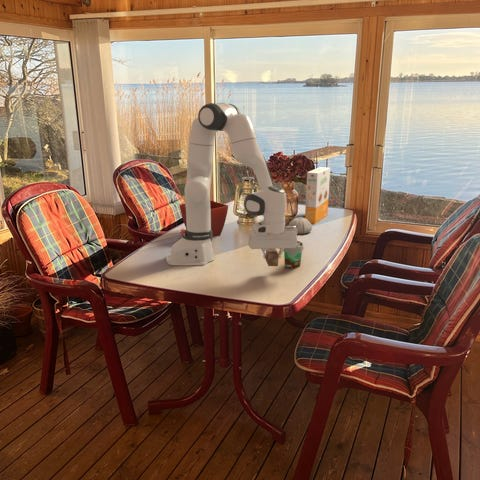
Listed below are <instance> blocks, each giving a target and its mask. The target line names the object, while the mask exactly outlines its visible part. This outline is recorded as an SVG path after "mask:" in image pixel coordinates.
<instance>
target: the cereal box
mask: <svg viewBox="0 0 480 480" xmlns="http://www.w3.org/2000/svg"><path fill="white" fill-rule="evenodd" d="M330 181H331V167H324V166H320V167H317V168H315V169H312V170H309V171H307V172H306V191H305V193H306V194H305V210H304V211H305V213H304V214H305V215H304V218H305V219H307V220H308V221H309V222H310V223H311V225H315V224H318V223H319V222H320V221H322V220H323V219H325V218H326V217H327V216H328V215H329V214H328V213H329V212H328V211H329V196H330V195H329V194H330Z"/></svg>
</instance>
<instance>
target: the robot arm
mask: <svg viewBox="0 0 480 480" xmlns="http://www.w3.org/2000/svg"><path fill="white" fill-rule="evenodd" d="M218 131H221V132H222V131H224V132H225V133H226V134H227V137H228V139H229V145H230V149H231V153H232V155H233V157H234V159H235V160H236V161H237V162H238V163H240V164H242V165H244V166H247V167H249V168H250V169H251V170H252V171H253V172H254V175H255V177H256V181H257V183H258V186H259V190H258V191H255V192H251V193H248V194H247V195H246V196H244V197H245V198H244V200H243V207H244V210H245V212H246V213H247V214H248V215H250V216H255V217H257V216H262V217H263V220H260V221H257V222H254V223H253V224H252V225H251V229H252V230H251V231H250V232H249V235H248V236H249V237H248V246H249V248H250V249H251V250H261V252H262V254H263V260H264V259H265V260H266V258H268V254H267V253H266V249H279V251H278V254H279V258H278V259H281V258H282V257H281V255H282V254H283V252H284V248H295V247H296V246H297V241H298V237H297V236H298V229H297V228H296V227H295V226H288V225H286V217H285V215H286V211H287V193H286V191H285V189H283V187H280V186H275V184H274V181H273V178H272V175H271V172H270V169H269V166H268V162H267V160H266V158H265V156H264V155H263V153H262V151H261V149H260V146H259V144H258V139H257V135H256V131H255V127H254V125H253V123H252V120H251V119H250V116H248V115H246V114H244V113H241V111H240V109H239V108H238V106H236V105H234V104H232V103H225V102H215V103H214V102H211V103H206V104H204V105H203V106H201V107H200V108H199V111H198V114H197V118H195V119H193V121H192V123H191V127H190V131H189V134H188V135H189V138H188V144H187V145H188V148H187V162H186V163H187V164H186V165H187V166H186V180H185V181H186V183H185V186H184V189H183V190H184V204H185V206H186V222H187V229H186V228H185V229H184V228H181V229H180V234H181V235H182V237H181V238H180V239H179V240H178V241H176V242H175V243H173V244H172V246H171V247H170V248H171V249H170V253H168V254H167V255H166V257H165V261H166V263H167V264H168V265H170V266H205V265H206V264H208V263H210V262H212V261H214V260H215V259H216V257H215V254H214V249H213V243H212V241H213V237H212V229H211V210H210V200H211V185H212V173H213V162H214V151H215V150H214V148H215V138H216V134H217V133H218Z"/></svg>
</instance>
